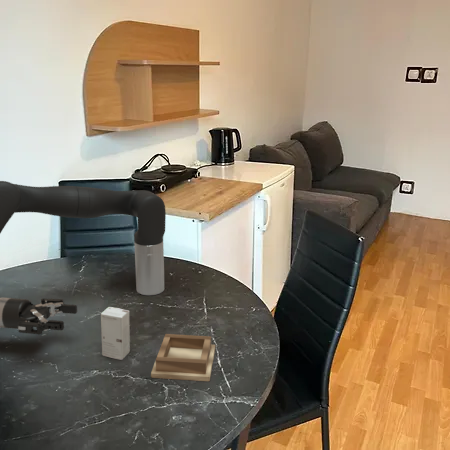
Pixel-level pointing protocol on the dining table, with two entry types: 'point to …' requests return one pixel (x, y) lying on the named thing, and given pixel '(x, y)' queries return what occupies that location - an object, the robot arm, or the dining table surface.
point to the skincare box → (115, 333)
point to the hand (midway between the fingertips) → (70, 317)
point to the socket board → (184, 358)
